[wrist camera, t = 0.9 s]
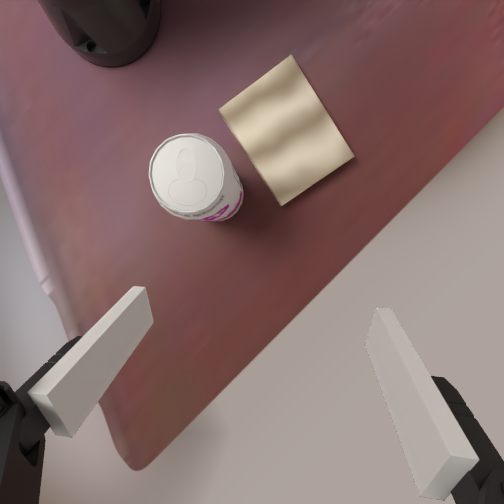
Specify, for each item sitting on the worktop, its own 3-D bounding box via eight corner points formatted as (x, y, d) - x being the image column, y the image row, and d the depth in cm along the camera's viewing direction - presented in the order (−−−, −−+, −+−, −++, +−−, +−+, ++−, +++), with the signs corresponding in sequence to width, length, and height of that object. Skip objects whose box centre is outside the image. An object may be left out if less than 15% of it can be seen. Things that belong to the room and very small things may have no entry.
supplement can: (244, 220, 37) (232, 218, 22) (191, 221, 37) (144, 219, 22) (243, 166, 36) (230, 125, 21) (189, 167, 36) (139, 128, 22)
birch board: (221, 115, 35) (218, 109, 33) (289, 64, 34) (291, 54, 32) (280, 206, 36) (281, 205, 34) (349, 160, 35) (354, 156, 33)
